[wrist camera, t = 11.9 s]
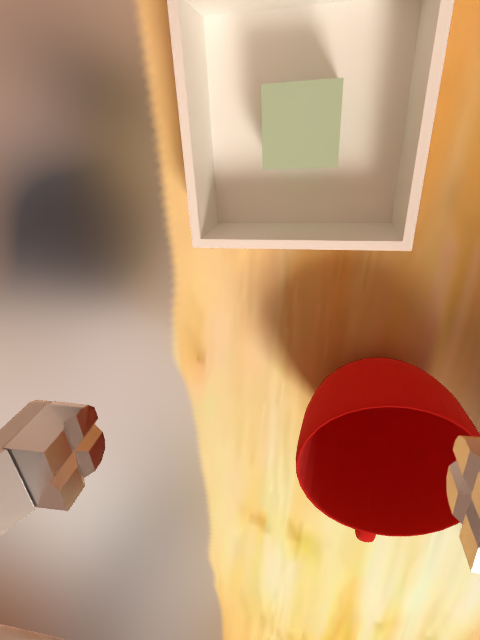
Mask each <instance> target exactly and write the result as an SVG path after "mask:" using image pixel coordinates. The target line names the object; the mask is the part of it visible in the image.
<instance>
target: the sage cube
mask: <svg viewBox="0 0 480 640" xmlns="http://www.w3.org/2000/svg"><path fill="white" fill-rule="evenodd" d="M343 80H344V78H332V79H319V80H306V81H293V82H280V83H267V84H261V113H262V164H263V170H270V169H302V168H334V167H338V156H339V141H340V125H341V110H342V95H343Z"/></svg>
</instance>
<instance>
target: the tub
mask: <svg viewBox="0 0 480 640" xmlns="http://www.w3.org/2000/svg"><path fill="white" fill-rule="evenodd" d="M453 6H454V0H167V7H168V16H169V26H170V35H171V45H172V54H173V64H174V73H175V83H176V92H177V102H178V111H179V121H180V131H181V140H182V150H183V159H184V169H185V178H186V188H187V197H188V207H189V216H190V226H191V235H192V245H193V248H250V249H315V250H379V251H412V246H413V240H414V234H415V228H416V222H417V217H418V211H419V205H420V199H421V193H422V187H423V181H424V176H425V170H426V164H427V158H428V152H429V146H430V140H431V135H432V129H433V123H434V117H435V111H436V105H437V99H438V94H439V88H440V82H441V76H442V70H443V64H444V58H445V53H446V47H447V41H448V35H449V29H450V23H451V17H452V12H453ZM332 78H344V80H343V95H342V110H341V125H340V141H339V156H338V167H334V168H302V169H270V170H263V164H262V113H261V84H267V83H280V82H293V81H306V80H319V79H332Z"/></svg>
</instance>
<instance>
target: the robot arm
mask: <svg viewBox="0 0 480 640" xmlns="http://www.w3.org/2000/svg"><path fill="white" fill-rule="evenodd" d="M97 419H98V416H97V413H96V411H95V408H94V407H92V406H89V405H83V404H74V403H65V402H56V401H54V402H51V401H43V400H35V401H32V402H30V403H28V404H27V405H26V406H25V407H24V408H23V409H22V410H21V411H20V412H19V413H18V414H17V415H15V416H14V417H13V418H12V419H11V420H10V421H9V422H8V423H7V424H6V425H5V426H4V427H3V428H1V429H0V536H1V535H2V534H3V533H4V532H6V531H7V530H9V529H10V528H11V527H12V526H14V525H15V524H16V523H18V522H19V521H20V520H22V519H23V518H24V517H26V516H27V515H28V514H30V513H31V512H32V511H34V510H35V507H39V508H48V509H56V510H65V511H68V510H69V509H70V507H71V506H72V505H73V503H74V502H75V500H76V498H77V497H78V496H79V494H80V493H81V491H82V489H83V488H84V487H85V482H84V478H85V477H86V476H88V475H89V474H91V473H92V472H94V471H95V470H96V469H97V467H98V465H99V464H100V462H101V460H102V457H103V453H104V450H105V439H104V435H103V432H102V431H101V430H100V429H99V428H98V427H97V426H96V425H95V423H96V421H97ZM453 452H454V454H455V457H456V460H457V461H455V462H454V463H452V464H451V465H449V467H448V472H447V477H446V485H447V496H448V502H449V505H450V509H451V512H452V515H453V516H454V517H455V518H456V519H457V520H458V521H459V522H461V523H462V524H463V525H462V529H461V532H460V536H459V537H460V540H461V543H462V546H463V549H464V552H465V555H466V558H467V561H468V564H469V567H470V570H471V572H476V573H480V437H473V436H458V437H457V439H456V440H455V443H454V447H453ZM0 640H65V639H61V638H57V637H52V636H49V635H44V634H40V633H36V632H31V631H27V630H23V629H18V628H14V627H10V626H5V625H1V624H0Z"/></svg>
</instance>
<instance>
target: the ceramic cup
mask: <svg viewBox="0 0 480 640" xmlns="http://www.w3.org/2000/svg"><path fill="white" fill-rule="evenodd" d="M458 436H473V437H480V434H479V432H478V431H477V429H476V427H475V426H474V424H473V423H472V421H471V420H470V418H469V417H468V415H467V414H466V412H465V411H464V409H463V408H462V406H461V405H460V404H459V402H458V401H457V400H456V398H455V397H454V396H453V395H452V394H451V393H450V392H449V390H447V389H446V388H445V387H444V386H443V385H442V384H441V383H440V382H439V381H437V380H436V379H435V378H434V377H433V376H431V375H430V374H428V373H426V372H425V371H423V370H421V369H420V368H418V367H416V366H414V365H411V364H408V363H406V362H403V361H400V360H395V359H390V358H367V359H361V360H357V361H354V362H351V363H348V364H346V365H344V366H342V367H340V368H338V369H337V370H336V371H334V372H333V373H332V374H330V375H329V376H328V377H327V378H326V379H325V380H324V381H323V382H322V384H321V385H320V386H319V387H318V388H317V390H316V391H315V393H314V395H313V397H312V399H311V401H310V402H309V404H308V407H307V409H306V412H305V415H304V419H303V423H302V427H301V431H300V436H299V440H298V446H297V452H296V473H297V477H298V480H299V483H300V486H301V488H302V490H303V491H304V493H305V495H306V496H307V498H308V499H309V500H310V501H311V502H312V503H313V504H314V506H315V507H316V508H318V509H319V510H320V511H321V512H323V513H324V514H325V515H327V516H328V517H330V518H332V519H333V520H335V521H337V522H339V523H341V524H343V525H345V526H348V527H351V528H353V529H355V533H356V537H357V538H358V539H359V540H361V541H363V542H372V541H373V540H374V539H375V536H376V534H377V535H385V536H415V535H424V534H429V533H433V532H437V531H441V530H444V529H446V528H448V527H451V526H453V525H456V524H458V523H459V521H458V520H457V519H456V518H455V517H454V516H453V515H452V512H451V509H450V505H449V502H448V496H447V485H446V477H447V472H448V467H449V465H451V464H452V463H454V462H455V461H457V460H456V457H455V454H454V452H453V447H454V443H455V440H456V439H457V437H458Z"/></svg>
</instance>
